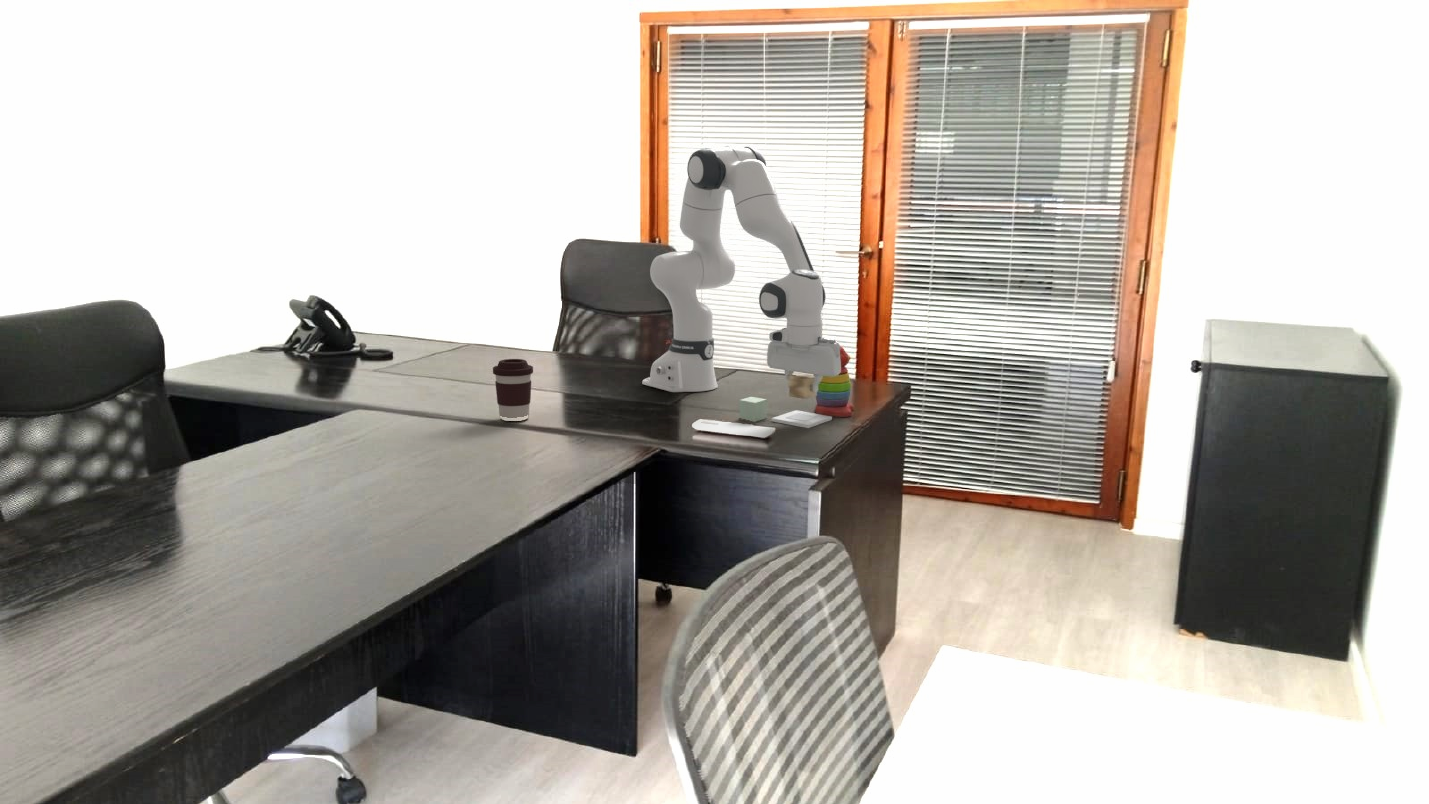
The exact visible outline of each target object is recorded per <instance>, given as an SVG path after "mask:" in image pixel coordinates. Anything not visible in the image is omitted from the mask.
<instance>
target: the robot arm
mask: <svg viewBox="0 0 1429 804" xmlns="http://www.w3.org/2000/svg"><path fill="white" fill-rule="evenodd" d="M686 168H687V170H686V171H687V176H688V178H687V181H686V182H685V183H686V184H685V188H684V191H683V192H684V193H683V198H682V206H681V212H680V221H679V228H680V230H681V232H682V234H683V235H684V236H685V237H686V238H687V239H690V240H691V241H692V250H681V251H669V252H666V253H663V254H659V255H657V256H656V257H654V259H653V260H652V262H651V265H650V267H649V268H650V269H649V272H650V273H649V275H650V279H651V282H652V283H653V285H654V286H655V287H656V289H658V290H659V291H661V293H662V294H663V295H664V296H665V297H666V300H668V303H669V305H670V307H671V312H672V323H673V324H672V325H673V337H672V338H671V339H668V340H666V343H665V344H666V345H669V347H668V350H667V351H666V352H664V353H663V354H662V355H661V356H660V357H658V358H657V359H655V361H653V363H652V364H651V368H650V374H649V375H650V376H648V377H646V378H644V379H643V380H642V384H641V385H645V386H647V387H653V388H656V389H660V390H664V391H665V392H666V391H667V392H670V393H683V392H689V393H690V392H691V393H692V392H693V393H694V392H705V391H711V390H715V389H717V388H718V387H719V386H718V383H717V378H716V374H715V373H716V372H715V367H714V366H715V365H714V354H715V353H714V351H715V339H714V338H713V313H712V310H711V309H710V307H709V306H707V305H706V304H704V303H703V302H700V301H699V299H698V297H697V295H698V294H697V291H698V290H708V289H711V290H712V289H717V288H720V287H723V286H726V285H729V284H730V283H732V281H733V279H734V276H735V275H736V264H735V261H734V259H733V256H731V255H730V253H729V252H728V251H727V250H726V249H725V248H724V245H723V243H722V240H721V223H722V215H723V207H724V201H725V193H726V191H730V192H731V194H732V198H733V202H734V207H735V211H736V215H737V219H738V221H739V224H740V226H741V227H742V229H743V230H744V231H745V232H746V233H747V234H749V235H750V236H751V237H754V238H757V239H759V240H763V241H766V242H768V243H770V244H772V245H774V246H775V247H776V248H777V249H778V250H780V251H781V253H782V255H783V257H784V261H785V262H786V264H787V267H788V270H789V273H788V274H787V275H786V276H784V277H782V278H780V279H777V280H773V281H770V282H766V283H765V284H764V285H763V286H762V288H761V290H760V292H759V294H758V296H759V297H758V301H759V303H758V304H759V308H760V310H761V311H762V313H763V314H764V316H766V317H767V318H769V319H775V320H776V319H777V320H778V319H779V320H780V319H786V327H783V328H781V329H779V330H778V329H777V330H775V331H771V332H770V333H769V341H770V342H769V344H768V346H767V352H766V364H767V366H768V367H769V368H770V369H773V370H780V371H781V370H782V371H784V376H785V378H786V380H787V382H788V383H787V384H788V385H787V386H788V388H789V381H790V377H791V376H793V374H794V373H800V374H806V375H812V376H813V378H814V379H815V381H814V383H813V384H811V385H810V391H811V392H817V391H818V384H819V383H820V381H821V380H822V378H823V376H828V377H834V376H837V375H839V374H840V372H841V360H840V346H841V345H840V343H839V342H838V341H836V339H834V338H825V337H823V320H822V311H823V308H824V305H825V303H826V290H825V287H824V286H823V281H822V279H821V276H820V274H819V273H817V271H815V269H814V267H813V265H812V262H811V259H810V257H809V256H808V252H807V250H806V247H805V245H804V242H803V240H802V237H801V235H800V233H799V231H798V229H797V227H796V225H795V224H794V222H792V221H791V220H790V219H789V217H788V216H787V215H786V214H785V211H784V210H783V208H782V207H781V204H780V202H779V198H778V195H777V191H776V188H775V185H774V181H773V179H772V177H771V174H770V173H769V170H768V168H767V163H766V158H765V156H764V154H763V152H761V151H760V150H759V149H757V148H754V147H750V146H744V147H742V146H728V145H727V146H722V147H721V146H720V147H713V148H707V147H706V148H702V149H701V148H700V149H698V150H695V151H694V152H692V154H691V155H690V157H689V159H688V162H687V167H686Z"/></svg>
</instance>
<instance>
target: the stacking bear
mask: <svg viewBox="0 0 1429 804" xmlns="http://www.w3.org/2000/svg"><path fill="white" fill-rule="evenodd" d="M840 360H841V372H840V374H839V375H837V376H834V377H828V376H823V378H822V380H821V381H820V383H819V384H818V391H817V396H815V400H816V404H815V407H814V412H815V413H816V414H820V415H826V416H831V417H835V418H836V417H837V418H838V417H840V418H848V417H849V418H850V417H851V416H852V414H853V413H852V412H853V411H854V409H855V408H854V404H852V403H851V402H849V399H850V395H851V390H852V385H851V384H852V383H851V380H850V374H849V370H848V368H847V367H846V366H847V365H848V364H849V362H850V360H851V356H850V354H848V353H847V352H846V351H845V348H844V347H843V346H841V345H840Z"/></svg>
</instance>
